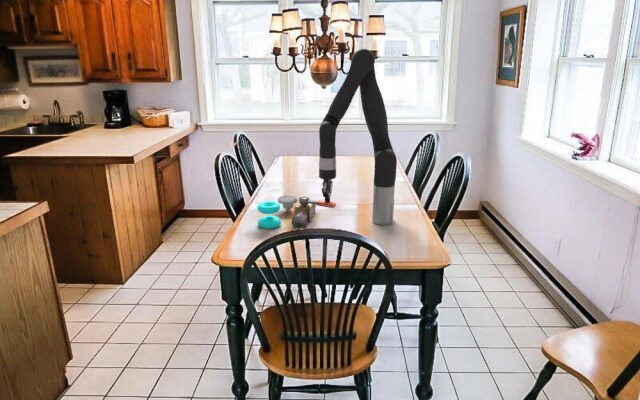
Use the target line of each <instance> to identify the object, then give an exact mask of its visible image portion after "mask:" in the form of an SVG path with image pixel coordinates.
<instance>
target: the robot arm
mask: <svg viewBox="0 0 640 400" xmlns="http://www.w3.org/2000/svg"><path fill="white" fill-rule="evenodd" d="M347 72H348V73H347V74H346V77H345V79H344V81H343V83H342V85H341V86H340V88H339V90H338V91H337V93H336V95H335V96H334V97H333V99H332V102H331V104H330V106H329V109H328V110H327V113H326V115H325V116H324V118H323V120H322V121H321V124H320V126H319V128H318V130H319V131H318V134H319V136H318V137H319V159H318V160H319V161H318V177H319V178H320V179H321V180H323V182H321V183H322V184H321V185H322V188H321V193H322V197H323V198H324V201H329V202H331V196H332V193H333V184H334V179H336V178H337V149H336V148H337V147H336V138H337V137H336V135H337V129H338V126H339V125H340V123H341V120H342V119H344V117H345V115H346V113H347V111H348V109H349V108H350V105H351V103H352V102H353V99H354V97H355V94H356V92H357V90H358V89H359V90H360V91H359V93H360V94H359V95H360V103H361V107H362V112H363V115H364V116H363V117H364V120H365V123H366V126H367V129H368V132H369V135H370V136H371V140H372V146H373V154H374V155H373V158H374V174H373V175H374V176H373V188H372V189H373V193H372V214H371V215H372V217H371V218H372V220H371V221H372V223H374V224H376V225H381V226H386V225H387V226H388V225H393V223H394V211H395V187H396V178H397V167H398V166H397V164H398V161H397V155H396V154H395V151H394V148H393V146H392V142H391V139H390V136H389V125H388V116H387V110H386V106H385V102H384V98H383V95H382V92H381V90H380V87H379V84H378V81H377V78H376V77H377V76H376V70H375V56H374V54H373V52H372V51H371V50H370V49H367V48H359V49H357V50H356V51H354V53H353V54H352V56H351V63H350V66H349V69H348V71H347Z"/></svg>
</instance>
